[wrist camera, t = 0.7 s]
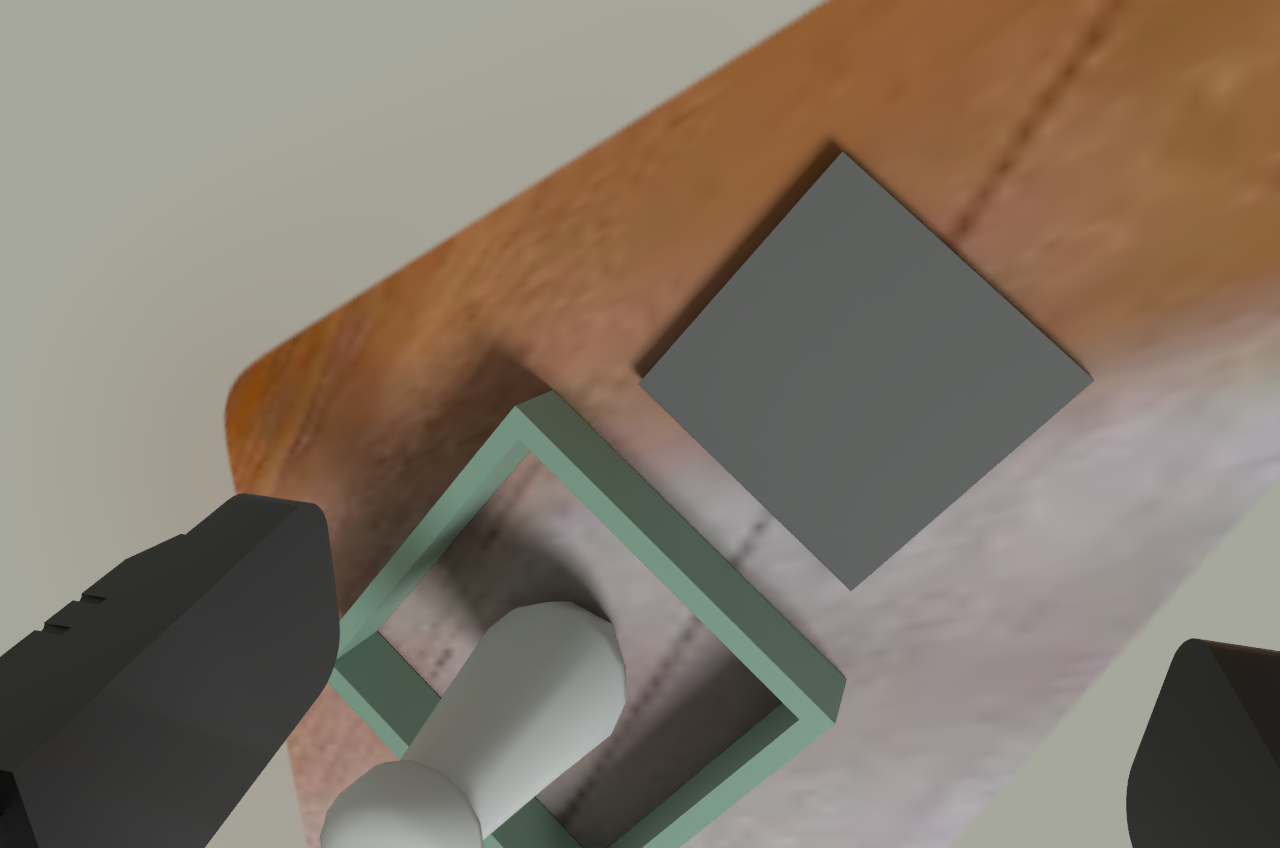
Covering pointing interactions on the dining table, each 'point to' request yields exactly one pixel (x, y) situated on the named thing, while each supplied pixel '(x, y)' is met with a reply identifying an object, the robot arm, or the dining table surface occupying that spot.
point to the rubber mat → (859, 374)
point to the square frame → (669, 550)
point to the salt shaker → (492, 735)
